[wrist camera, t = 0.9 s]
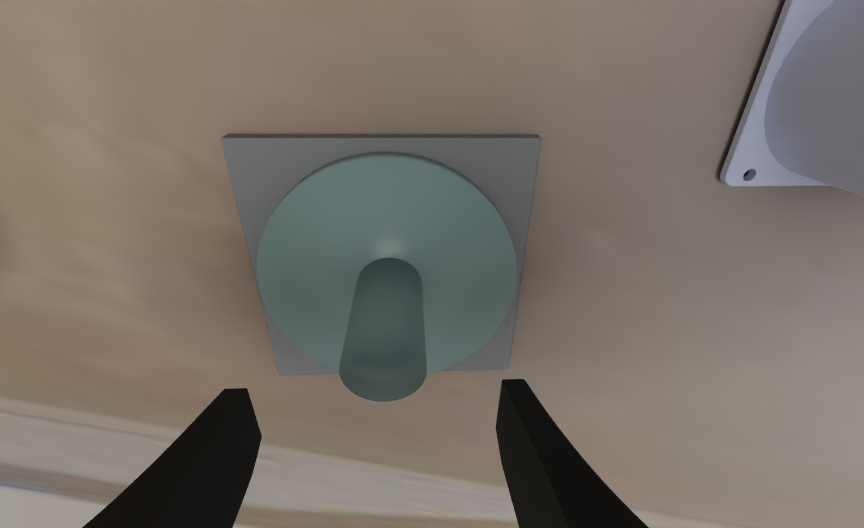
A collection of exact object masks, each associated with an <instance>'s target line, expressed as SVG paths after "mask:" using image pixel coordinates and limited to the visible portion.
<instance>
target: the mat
mask: <svg viewBox="0 0 864 528" xmlns="http://www.w3.org/2000/svg"><path fill="white" fill-rule="evenodd" d="M221 140H222V145H223V149H224V153H225V157H226V161H227V165H228V169H229V173H230V177H231V181H232V185H233V189H234V193H235V198H236V202H237V206H238V210H239V214H240V218H241V222H242V226H243V230H244V234H245V238H246V242H247V247H248V251H249V255H250V259H251V263H252V267H253V271H254V275H255V279H256V283H257V287H258V291H259V296H260V300H261V304H262V308H263V312H264V316H265V320H266V324H267V328H268V332H269V336H270V340H271V344H272V349H273V353H274V357H275V361H276V365H277V369H278V373H279V376H283V375H317V374H339V370H336V369H334V368H332V367H329V366H327V365H325V364H323V363H321V362H319V361H317V360H315V359H314V358H312V357H310V356H309V355H307V354H306V353H305V352H303V351H302V350H300V349H299V348H298V347H297V346H295V345H294V344H293V343H292V342H291V341H290V340H289V339H288V338H287V337H286V336H285V335H284V334H283V333H282V331H281V330H280V329H279V328H278V327H277V325H276V324H275V322H274V321H273V319H272V318H271V316H270V314H269V312H268V310H267V308H266V306H265V304H264V302H263V299H262V296H261V293H260V290H259V284H258V278H257V254H258V248H259V243H260V240H261V237H262V234H263V231H264V228H265V226H266V225H267V223H268V221H269V219H270V217H271V215H272V214H273V212H274V211H275V210H276V208H277V207H278V206H279V204H280V203H281V202H282V200H283V199H284V198H285V196H286V195H287V194H288V193H289V192H290V191H291V190H292V189H293V188H294V187H295V186H296V185H297V184H298V183H299V182H300V181H301V180H302V179H304V178H305V177H307V176H308V175H309V174H311V173H312V172H314V171H315V170H317V169H319V168H321V167H323V166H325V165H327V164H329V163H330V162H333V161H336V160H339V159H342V158H345V157H348V156H352V155H357V154H362V153H369V152H384V151H386V152H402V153H408V154H413V155H418V156H423V157H426V158H429V159H432V160H435V161H438V162H440V163H442V164H444V165H446V166H448V167H450V168H452V169H454V170H456V171H458V172H459V173H461V174H462V175H464V176H465V177H466V178H468V179H469V180H471V181H472V182H473V183H474V184H475V185H476V186H477V187H478V188H480V189H481V190H482V191H483V192H484V194H485V195H486V196H487V197H488V198H489V200H490V201H491V202H492V203H493V205H494V206H495V208H496V209H497V211H498V213H499V214H500V216H501V218H502V220H503V222H504V224H505V226H506V228H507V230H508V232H509V235H510V237H511V240H512V243H513V247H514V251H515V255H516V264H517V279H516V287H515V292H514V297H513V300H512V302H511V305H510V308H509V310H508V312H507V314H506V316H505V318H504V320H503V322H502V323H501V325H500V326H499V327H498V329H497V330H496V331H495V333H494V334H493V335H492V336H491V337H490V338H489V339H488V340H487V342H486V343H485V344H483V345H482V346H481V347H480V348H479V349H478V350H476V351H475V352H474V353H472V354H471V355H469V356H468V357H466V358H465V359H463V360H462V361H460V362H458V363H456V364H454V365H452V366H450V367H447V368H445V369H442V370H440V371H453V370H487V369H508V367H509V359H510V352H511V345H512V338H513V331H514V324H515V317H516V310H517V303H518V296H519V289H520V282H521V275H522V268H523V261H524V254H525V247H526V240H527V233H528V226H529V219H530V212H531V205H532V198H533V191H534V184H535V177H536V170H537V163H538V156H539V149H540V142H541V138H540V137H539V136H538V135H226V136H224V137H222V138H221Z"/></svg>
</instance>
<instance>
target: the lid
mask: <svg viewBox="0 0 864 528" xmlns="http://www.w3.org/2000/svg"><path fill="white" fill-rule="evenodd" d="M257 278H258V284H259V290H260V293H261V296H262V299H263V302H264V304H265V306H266V308H267V310H268V312H269V314H270V316H271V318H272V319H273V321H274V322H275V324H276V325H277V327H278V328H279V329H280V330H281V331H282V333H283V334H284V335H285V336H286V337H287V338H288V339H289V340H290V341H291V342H292V343H293V344H294V345H295V346H297V347H298V348H299V349H300V350H302V351H303V352H305V353H306V354H307V355H309V356H310V357H312V358H314V359H315V360H317V361H319V362H321V363H323V364H325V365H327V366H329V367H332V368H334V369H336V370H339V374H340V377H341V380H342V381H343V383H344V385H345V386H346V387H347V388H348V389H349V390H350V391H351V392H353V393H354V394H356V395H358V396H360V397H362V398H365V399H368V400H373V401H394V400H398V399H402V398H404V397H407V396H409V395H411V394H412V393H414V392H415V391H416V390H417V389H418V388H419V387H420V386H421V385H422V383H423V382H424V380H425V378H426V375H427V374H430V373H434V372H437V371H440V370H442V369H445V368H447V367H450V366H452V365H454V364H456V363H458V362H460V361H462V360H463V359H465V358H466V357H468V356H469V355H471V354H472V353H474V352H475V351H476V350H478V349H479V348H480V347H481V346H482V345H483V344H485V343H486V342H487V340H488V339H489V338H490V337H491V336H492V335H493V334H494V333H495V331H496V330H497V329H498V327H499V326H500V325H501V323H502V322H503V320H504V318H505V316H506V314H507V312H508V310H509V308H510V305H511V302H512V300H513V297H514V292H515V287H516V279H517V264H516V255H515V251H514V247H513V243H512V240H511V237H510V235H509V232H508V230H507V228H506V226H505V224H504V222H503V220H502V218H501V216H500V214H499V213H498V211H497V209H496V208H495V206H494V205H493V203H492V202H491V201H490V200H489V198H488V197H487V196H486V195H485V194H484V192H483V191H482V190H481V189H480V188H478V187H477V186H476V185H475V184H474V183H473V182H472V181H471V180H469V179H468V178H466V177H465V176H464V175H462V174H461V173H459V172H458V171H456V170H454V169H452V168H450V167H448V166H446V165H444V164H442V163H440V162H438V161H435V160H432V159H429V158H426V157H423V156H418V155H413V154H408V153H402V152H386V151H384V152H369V153H362V154H357V155H352V156H348V157H345V158H342V159H339V160H336V161H333V162H330V163H329V164H327V165H325V166H323V167H321V168H319V169H317V170H315V171H314V172H312V173H311V174H309V175H308V176H307V177H305V178H304V179H302V180H301V181H300V182H299V183H298V184H297V185H296V186H295V187H294V188H293V189H292V190H291V191H290V192H289V193H288V194H287V195H286V196H285V198H284V199H283V200H282V202H281V203H280V204H279V206H278V207H277V208H276V210H275V211H274V212H273V214H272V215H271V217H270V219H269V221H268V223H267V225H266V226H265V228H264V231H263V234H262V237H261V240H260V243H259V248H258V254H257Z"/></svg>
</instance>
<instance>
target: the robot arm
mask: <svg viewBox="0 0 864 528" xmlns="http://www.w3.org/2000/svg"><path fill="white" fill-rule="evenodd" d="M748 170H749V173H748V174H747V176H745V177H744V178H743V175H744V174H745V172H746V171H748ZM720 179H721V181H722V182H723V183H724V184H726V185H728V186H833V187H836V188H839V189H842V190H844V191H847V192H850V193H853V194H856V195H859V196H862V197H864V0H785V3H784V6H783V8H782V11H781V14H780V16H779V19H778V22H777V24H776V27H775V30H774V32H773V35H772V38H771V40H770V43H769V46H768V48H767V51H766V54H765V56H764V59H763V62H762V64H761V67H760V70H759V72H758V75H757V78H756V80H755V83H754V86H753V88H752V91H751V94H750V96H749V99H748V102H747V104H746V107H745V110H744V112H743V115H742V118H741V120H740V123H739V126H738V128H737V131H736V134H735V136H734V139H733V142H732V144H731V147H730V150H729V152H728V155H727V158H726V160H725V163H724V165H723V168H722V171H721V174H720ZM496 432H497V438H498V444H499V450H500V456H501V462H502V466H503V470H504V474H505V477H506V481H507V485H508V488H509V492H510V496H511V499H512V503H513V506H514V510H515V514H516V517H517V521H518V524H519V528H649V527H647V526H646V525H645V524H644V523H643V522H642V521H641V520H640V519H639V518H638V517H637V516H636V515H635V514H634V513H633V512H632V511H631V510H630V509H629V508H628V507H627V506H626V505H625V504H624V503H623V502H622V501H621V500H620V499H619V498H618V497H617V496H616V495H615V494H614V492H613V491H612V490H611V489H610V488H609V487H608V486H607V485H606V484H605V483H604V482H603V481H602V479H601V478H600V477H599V476H598V475H597V474H596V473H595V472H594V470H593V469H592V468H591V467H590V466H589V465H588V463H587V462H586V461H585V460H584V459H583V458H582V456H581V455H580V454H579V453H578V452H577V450H576V449H575V448H574V447H573V445H572V444H571V443H570V442H569V440H568V439H567V438H566V437H565V435H564V434H563V433H562V431H561V430H560V429H559V428H558V426H557V425H556V424H555V422H554V421H553V420H552V418H551V417H550V416H549V414H548V413H547V411H546V410H545V409H544V407H543V406H542V404H541V403H540V402H539V400H538V399H537V397H536V396H535V394H534V393H533V391H532V390H531V388H530V387H529V385H528V384H527V382H526V381H525V380H524V379H508V380H502V385H501V392H500V400H499V407H498V415H497V422H496ZM261 438H262V436H261V433H260V429H259V426H258V423H257V419H256V416H255V413H254V410H253V406H252V403H251V400H250V396H249V393H248V390H247V388H240V389H224V390H223V391H222V392H221V393H220V394H219V395H218V396H217V397H216V398H215V399H214V400H213V401H212V403H211V404H210V405H209V406H208V407H207V408H206V409H205V410H204V411H203V412H202V413H201V414H200V415H199V416H198V417H197V418H196V419H195V421H194V422H193V423H192V424H191V425H190V426H189V427H188V428H187V429H186V430H185V431H184V432H183V433H182V434H181V435H180V436H179V437H178V438H177V439H176V440H175V441H174V442H173V443H172V444H171V445H170V446H169V447H168V448H167V449H166V450H165V451H164V452H163V453H162V454H161V456H160V457H159V458H158V459H157V460H156V461H155V462H154V463H153V464H151V465H150V466H149V467H148V468H147V469H146V470H145V471H144V472H143V473H142V474H141V475H140V476H139V477H138V478H137V479H136V480H135V481H134V482H133V483H132V484H130V485H129V486H128V487H127V488H126V489H125V490H124V491H123V492H122V493H121V494H120V495H119V496H118V497H117V498H116V499H114V500H113V501H112V502H111V503H110V504H109V505H108V506H107V507H106V508H104V509H103V510H102V511H101V512H100V513H99V514H98V515H97V516H95V517H94V518H93V519H92V520H91V521H90V522H88V523H87V524H86V525H85V526H84V527H82V528H232V527H233V525H234V522H235V519H236V517H237V514H238V511H239V509H240V506H241V504H242V501H243V498H244V496H245V493H246V490H247V488H248V485H249V482H250V479H251V477H252V474H253V470H254V466H255V462H256V459H257V454H258V450H259V446H260V442H261Z"/></svg>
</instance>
